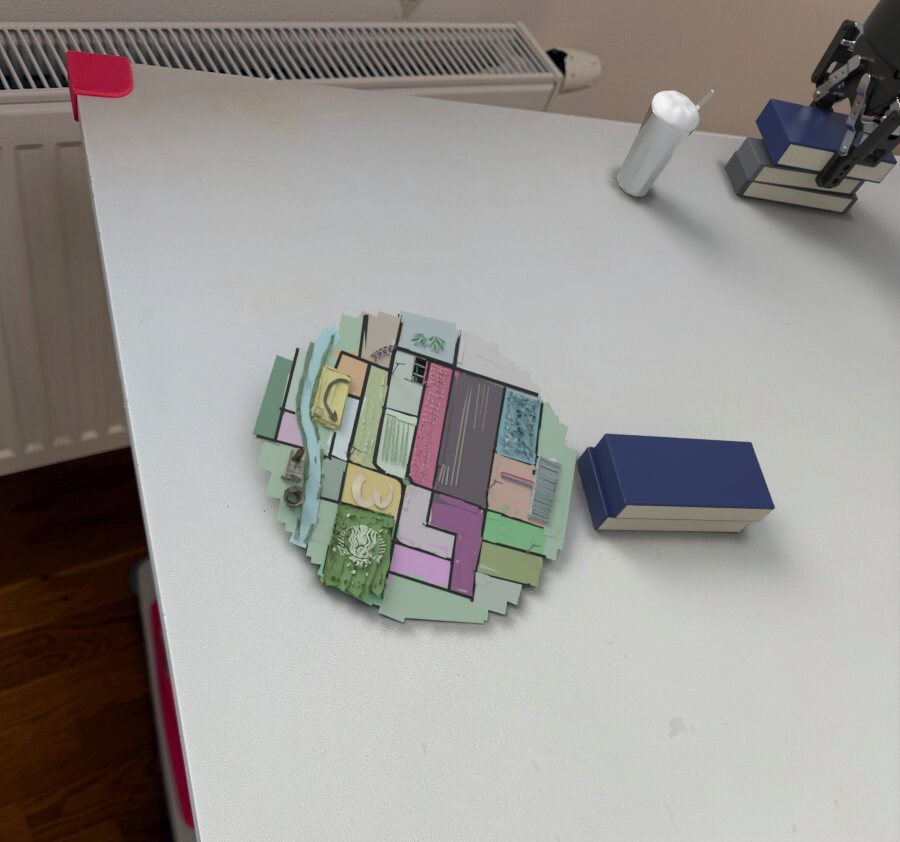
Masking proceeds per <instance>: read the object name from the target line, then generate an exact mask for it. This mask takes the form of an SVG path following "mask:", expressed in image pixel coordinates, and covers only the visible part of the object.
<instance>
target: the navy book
mask: <svg viewBox="0 0 900 842" xmlns="http://www.w3.org/2000/svg"><path fill="white" fill-rule="evenodd" d="M848 116H849V114H847V113H842V112H837V111H828V110H824V109H819V108H814V107H810V106H809V105H804V104H799V103H796V102H791V101H785V100H781V99H777V98H770V99H768V101H767V103H766V105H765V106H764V108H763V109H762V111H760V113H759V115H758V116H757V118H756V119H755V124H756V126H757V128H758V131H759V134H760V135H761V139H763V140H764V143H765V145H766V147H767V149H768V152H769V154H770V156H771V159H772V161H773V163H774V165H780V166H785V167H791V168H796V169H802V170H807V171H813V172H818V173H820V171H821V170H822V169H823V168H824V166H825V165H826V164H827V162H828V161H829V160H830V159H831V157H832V156H833V155H834V153H835V152H836V151H837V150H840V147H841V144H842V142H843V139H844V137H845V134H846V132H847V127H846V121H847V118H848ZM861 120H862V121H864V122H871V121H872V120H873V119H871V118H866V117H862V118H861ZM863 133H864V132H860V133H859V135H858V137H857V140H856V142H855V144H857V145H859V143H860V141H861V138H862V136H863ZM875 149H876V148H875ZM875 149H874V150H875ZM874 150H872V152H873V151H874ZM897 164H898V161H897V159H896V157H895V155H894V153H893V150H892V151H891V152H890V153H889V154H888V155H887V156H886V157H885V158H884V159H883V160H882V161H881V162H880V163H879V164H878V165H877V166H876V167H874V168H872V167H867V166H862V165H855V166H854V167H853V168H852V170H851V171H850V172H849V173H848V175H847V176H846V178H851V179H857V180H862V181H865V182H869V183H872V184H873V183H874V184H881V182H882V181H883V180H884V179H885V178H886V177H887V175H888V174H889V173H890V172H891V171H892V169H893V168H894V167H895V166H896V165H897Z"/></svg>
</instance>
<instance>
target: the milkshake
mask: <svg viewBox="0 0 900 842" xmlns="http://www.w3.org/2000/svg"><path fill="white" fill-rule="evenodd" d="M714 94H715V91H714V90H713V89H710V91H709V92H708V93H707V94H705V96H704V97H703V98H702V99H701V100H700V101H699V102H698V103H697V104H695V103H694V102H692V101H691V99H690V98H689V97H688V96H687V95H685V94H683V93H681V92H679V91H677V90H662V91H659V92H657V93H656V94H655V95H654V96H653V98H652V100H651V103H650V105H649V106H648V109H647V112H646V114H645V116H644V118H643V121H642V123H641V125H640V127H639V130H638V132H637V134H636V136H635V138H634V141H633V143H632V144H631V146H630V149H629V150H628V153H627V155H626V157H625V159H624V161H623V163H622V165H621V167H620V170H619V171H618V174H617V176H616V180H617V184H618V186H619V188H620V189H621V190H623V192H625V194H627V195H630V196H632V197H634V198H640V197H645V196H646V195H647V193H648V192H649V191H650V189H651V188H652V186H653V185H654V183H656V181H657V180H658V178H659V177H660V176H661V174H662V173H663V171H664V170H665V169H666V167H667V166H668V165H669V163H670V162H671V160H672V159H673V158H674V156H675V155H676V154H677V152H679V150H680V149H681V148H682V147H683V146H684V144H685V143H686V142H687V140H688V139H689V138H690V136H691V135H692V134H693V133H694V131H695V130H696V128H697V127H698V126H699V123H700V119H701V118H700V114H699V112H698V111H699V110H700V109H701V108H702V107H703V106H704V105H705V104H706V103H707V102H708V101H709V100H710V99H711V98H712V97H713V96H714Z"/></svg>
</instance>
